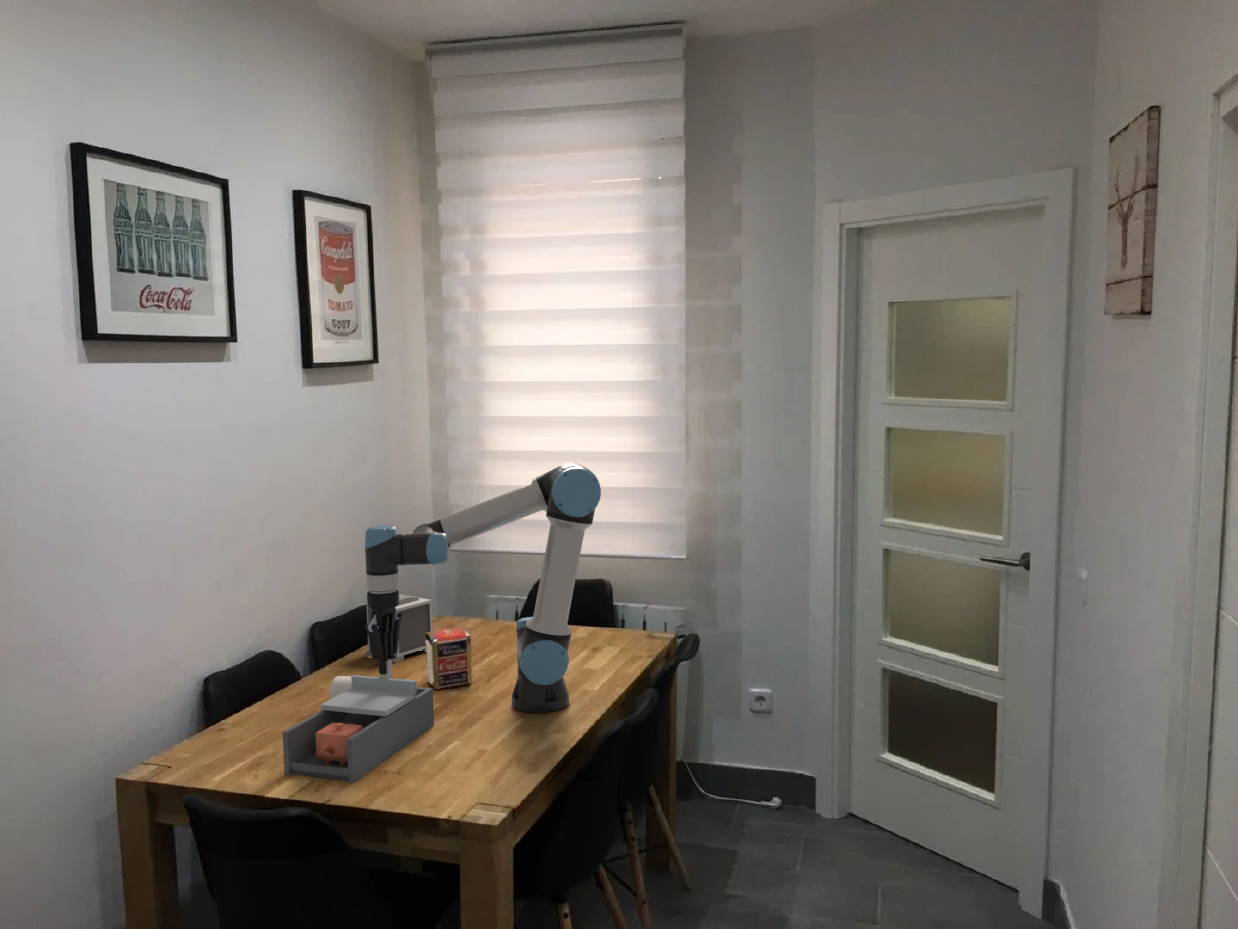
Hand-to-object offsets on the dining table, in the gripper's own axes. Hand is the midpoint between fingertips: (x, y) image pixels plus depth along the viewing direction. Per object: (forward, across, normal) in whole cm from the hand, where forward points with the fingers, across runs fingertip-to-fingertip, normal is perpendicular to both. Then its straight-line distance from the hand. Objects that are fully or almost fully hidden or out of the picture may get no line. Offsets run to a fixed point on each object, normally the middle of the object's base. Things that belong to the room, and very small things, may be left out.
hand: (386, 685), depth 235 cm
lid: (+2, +8, 0) cm, 8 cm away
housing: (+12, +11, 0) cm, 16 cm away
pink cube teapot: (+11, +21, 0) cm, 24 cm away
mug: (+12, -16, -19) cm, 27 cm away
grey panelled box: (+12, -62, -33) cm, 71 cm away
